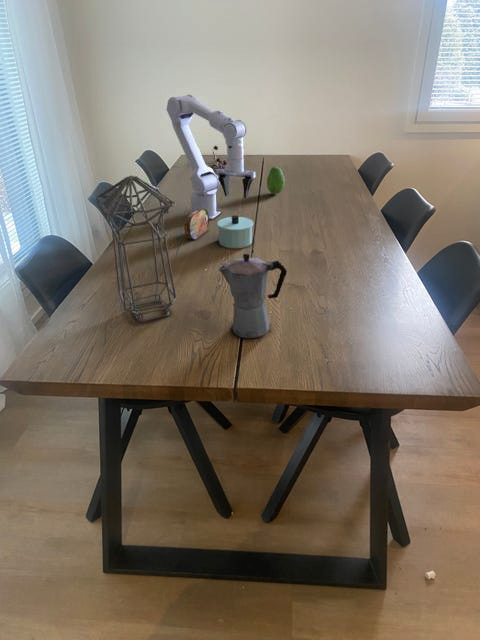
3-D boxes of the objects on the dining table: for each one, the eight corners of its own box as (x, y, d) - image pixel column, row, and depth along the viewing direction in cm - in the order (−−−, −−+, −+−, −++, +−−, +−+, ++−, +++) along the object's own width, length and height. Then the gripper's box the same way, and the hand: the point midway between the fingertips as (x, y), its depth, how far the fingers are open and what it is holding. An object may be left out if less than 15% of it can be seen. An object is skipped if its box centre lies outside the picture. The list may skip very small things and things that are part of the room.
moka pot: (220, 320, 115) (217, 246, 104) (280, 316, 116) (283, 244, 105) (221, 341, 107) (219, 264, 96) (286, 338, 108) (290, 261, 97)
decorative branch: (223, 161, 229) (209, 137, 250) (213, 176, 233) (200, 152, 254) (240, 170, 236) (225, 146, 256) (231, 185, 240) (217, 160, 260)
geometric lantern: (126, 333, 110) (101, 190, 92) (114, 303, 123) (89, 171, 104) (187, 319, 116) (176, 180, 97) (170, 291, 128) (157, 164, 109)
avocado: (264, 195, 202) (264, 167, 195) (269, 190, 208) (270, 163, 201) (281, 197, 199) (282, 169, 193) (286, 192, 205) (287, 164, 199)
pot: (213, 245, 155) (213, 227, 152) (227, 233, 164) (226, 216, 161) (244, 250, 152) (244, 232, 148) (256, 238, 160) (256, 220, 157)
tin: (191, 242, 157) (189, 219, 153) (183, 241, 158) (181, 218, 154) (210, 228, 169) (209, 206, 165) (202, 227, 170) (201, 205, 166)
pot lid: (211, 229, 152) (211, 220, 150) (226, 217, 161) (225, 208, 160) (245, 234, 148) (245, 225, 146) (258, 222, 158) (258, 213, 156)
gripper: (211, 159, 160) (213, 197, 167) (250, 162, 155) (250, 201, 162) (220, 155, 165) (221, 192, 172) (257, 157, 160) (257, 195, 168)
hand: (236, 196), depth 168 cm, fingers open, 7 cm apart
